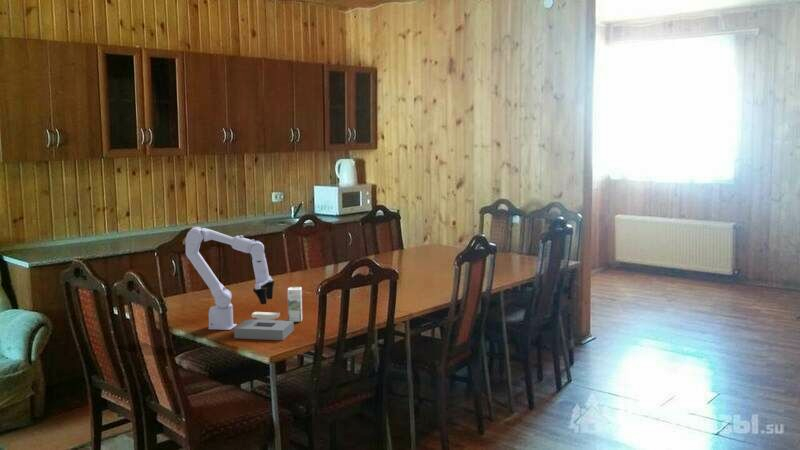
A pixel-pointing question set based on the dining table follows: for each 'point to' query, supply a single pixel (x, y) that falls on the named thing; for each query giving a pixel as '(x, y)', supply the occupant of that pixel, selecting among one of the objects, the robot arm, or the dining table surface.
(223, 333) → the dining table surface
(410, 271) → the dining table surface
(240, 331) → the slotted board
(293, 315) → the syrup box
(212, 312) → the robot arm
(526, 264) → the dining table surface
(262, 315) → the tee block
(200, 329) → the dining table surface
